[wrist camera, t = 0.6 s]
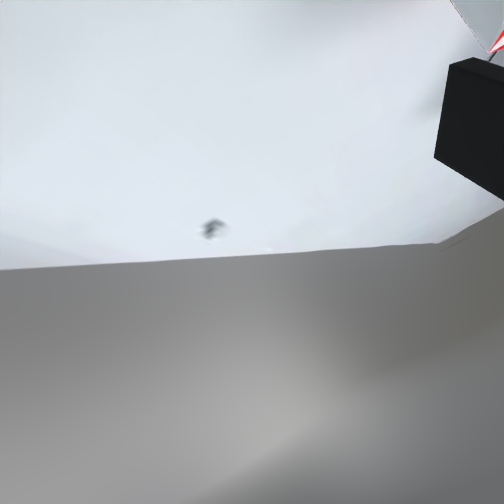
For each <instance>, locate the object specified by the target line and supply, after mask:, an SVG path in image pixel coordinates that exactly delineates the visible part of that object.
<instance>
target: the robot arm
mask: <svg viewBox="0 0 504 504" xmlns="http://www.w3.org/2000/svg"><path fill="white" fill-rule="evenodd" d="M434 158H435V159H437V160H438V161H440V162H442V163H443V164H445V165H446V166H448V167H450V168H451V169H453V170H455V171H456V172H458V173H459V174H461V175H463V176H464V177H466V178H468V179H469V180H471V181H472V182H474V183H476V184H477V185H479V186H481V187H482V188H484V189H485V190H487V191H489V192H490V193H492V194H494V195H495V196H497V197H498V198H500V199H502V200H503V201H504V67H503V66H500V65H497V64H493V63H490V62H487V61H484V60H481V59H478V58H475V57H472V58H469V59H466V60H463V61H459V62H456V63H453V64H450V65H449V70H448V76H447V82H446V88H445V94H444V100H443V105H442V111H441V117H440V123H439V129H438V135H437V141H436V147H435V153H434Z"/></svg>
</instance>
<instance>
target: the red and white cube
mask: <svg viewBox="0 0 504 504" xmlns="http://www.w3.org/2000/svg"><path fill="white" fill-rule="evenodd" d="M450 1H451V3H452V4H453V5H454V7H455V8H456V10H457V11H458V13H459V14H460V15H461V17H462V18H463V20H464V21H465V23H466V24H467V25H468V27H469V28H470V29H471V31H472V32H473V34H474V35H475V37H476V38H477V39H478V41H479V42H480V44H481V45H482V47H483V48H484V49H485V51H486V52H487V54H488V53H491V52H495V51H498V50H501V49H504V0H450Z"/></svg>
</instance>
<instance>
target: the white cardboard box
mask: <svg viewBox="0 0 504 504" xmlns="http://www.w3.org/2000/svg"><path fill="white" fill-rule="evenodd" d="M490 63H493V64H497V65H500V66H503V67H504V49H501V50H498V51H497V53H496V54H495V55H494V57H493V58H492V59H491V61H490Z"/></svg>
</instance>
